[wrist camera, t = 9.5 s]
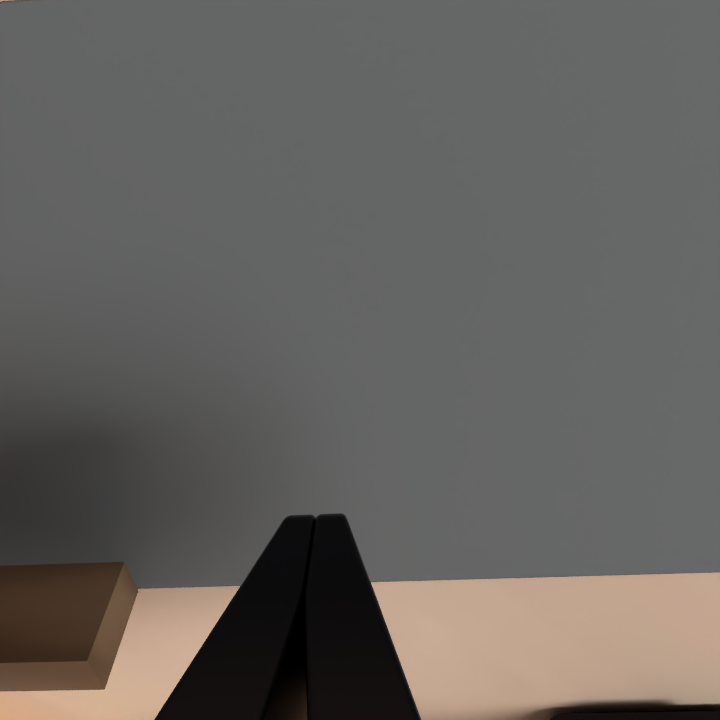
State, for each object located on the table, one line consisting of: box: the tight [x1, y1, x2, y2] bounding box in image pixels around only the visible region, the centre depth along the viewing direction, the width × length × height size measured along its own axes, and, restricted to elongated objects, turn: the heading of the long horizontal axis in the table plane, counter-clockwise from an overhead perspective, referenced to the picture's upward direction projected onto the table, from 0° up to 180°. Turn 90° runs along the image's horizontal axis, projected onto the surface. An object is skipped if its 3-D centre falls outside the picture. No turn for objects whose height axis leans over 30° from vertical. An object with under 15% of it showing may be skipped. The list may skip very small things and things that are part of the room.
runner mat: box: [0, 0, 720, 589], centre depth 12 cm, size 13×32×1 cm, turn 94°
